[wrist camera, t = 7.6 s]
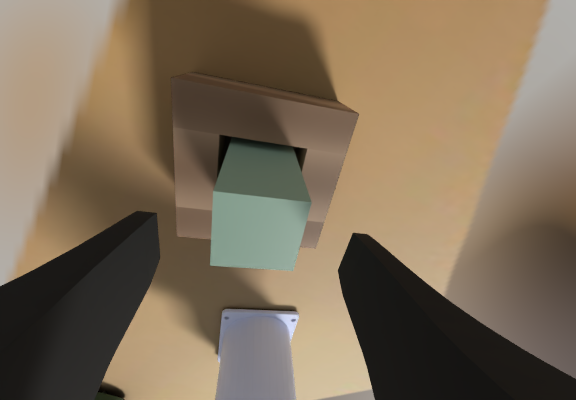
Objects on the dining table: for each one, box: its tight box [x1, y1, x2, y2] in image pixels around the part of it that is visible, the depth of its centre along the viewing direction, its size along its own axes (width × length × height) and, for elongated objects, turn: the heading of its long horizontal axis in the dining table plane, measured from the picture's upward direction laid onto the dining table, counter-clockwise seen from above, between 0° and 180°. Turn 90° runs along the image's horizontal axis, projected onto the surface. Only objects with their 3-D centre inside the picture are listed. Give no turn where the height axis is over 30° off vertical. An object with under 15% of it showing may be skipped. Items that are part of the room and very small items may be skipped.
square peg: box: [210, 137, 312, 271], centre depth 13 cm, size 4×4×8 cm
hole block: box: [171, 72, 359, 248], centre depth 16 cm, size 9×9×4 cm
